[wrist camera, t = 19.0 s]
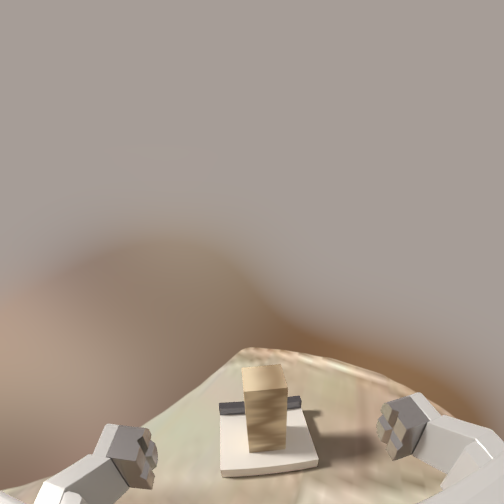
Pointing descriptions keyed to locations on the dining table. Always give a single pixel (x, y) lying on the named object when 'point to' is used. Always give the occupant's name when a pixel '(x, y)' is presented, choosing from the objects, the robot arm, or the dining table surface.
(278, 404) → the oak block
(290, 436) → the dock
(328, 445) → the dining table surface
